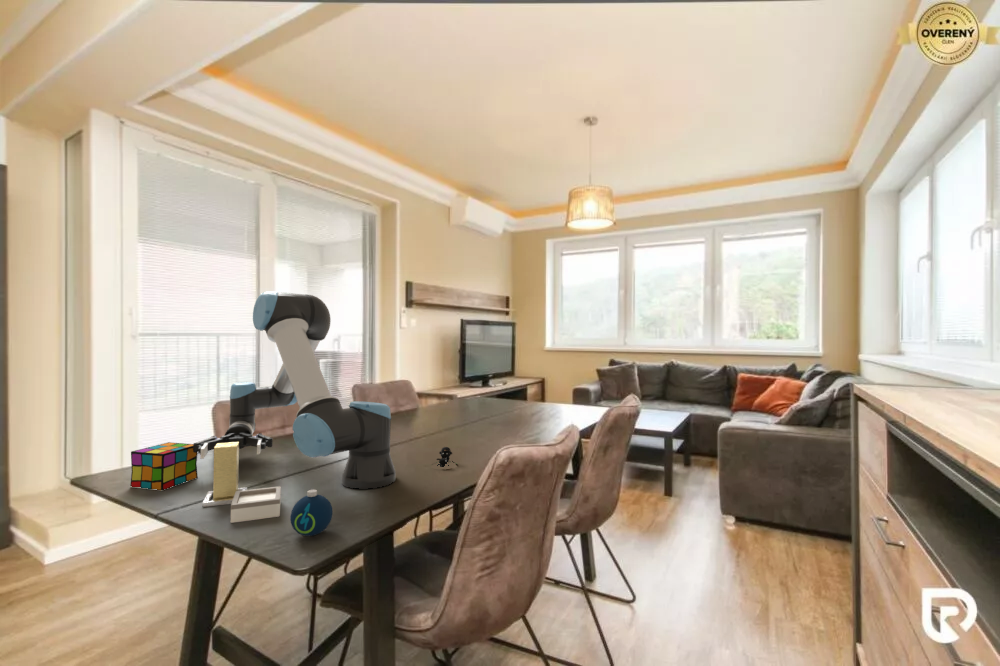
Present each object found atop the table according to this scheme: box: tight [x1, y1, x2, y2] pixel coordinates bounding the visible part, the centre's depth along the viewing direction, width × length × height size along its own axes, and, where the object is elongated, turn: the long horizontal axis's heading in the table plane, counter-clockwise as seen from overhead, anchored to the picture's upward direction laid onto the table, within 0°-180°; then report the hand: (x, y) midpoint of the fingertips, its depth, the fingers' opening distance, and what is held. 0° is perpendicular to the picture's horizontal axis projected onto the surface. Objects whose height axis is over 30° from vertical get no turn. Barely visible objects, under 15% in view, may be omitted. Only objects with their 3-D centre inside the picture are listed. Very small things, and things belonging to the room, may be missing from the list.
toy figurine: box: [436, 446, 456, 467], centre depth 151 cm, size 10×10×6 cm
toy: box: [129, 441, 199, 491], centre depth 130 cm, size 11×11×10 cm
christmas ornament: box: [289, 489, 334, 537], centre depth 98 cm, size 8×8×10 cm
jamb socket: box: [201, 486, 248, 508], centre depth 118 cm, size 9×9×1 cm
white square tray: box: [230, 485, 282, 524], centre depth 110 cm, size 10×10×4 cm
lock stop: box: [212, 442, 240, 501], centre depth 118 cm, size 5×5×14 cm
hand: (230, 451), depth 127 cm, fingers open, 13 cm apart
